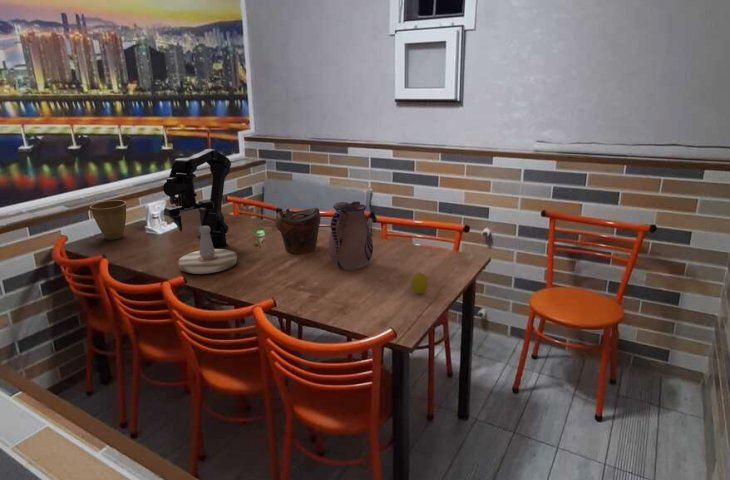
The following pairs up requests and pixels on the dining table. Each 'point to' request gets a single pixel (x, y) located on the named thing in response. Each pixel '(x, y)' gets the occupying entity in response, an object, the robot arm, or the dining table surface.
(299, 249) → the brown tapered round container
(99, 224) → the plant pot
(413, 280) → the lemon
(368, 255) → the ceramic pitcher
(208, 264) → the lazy susan
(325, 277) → the dining table surface
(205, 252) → the salt shaker
